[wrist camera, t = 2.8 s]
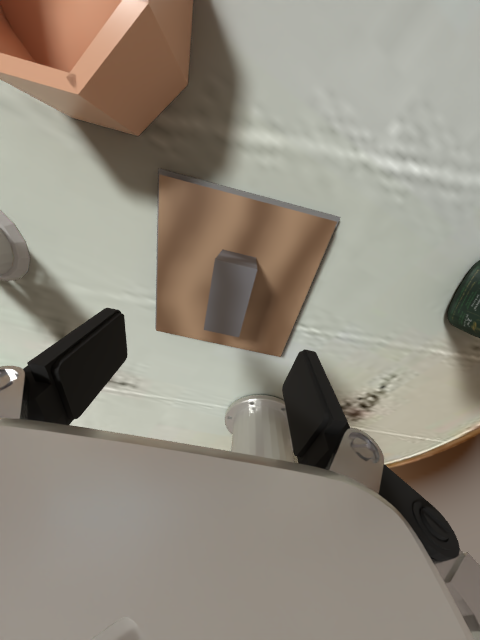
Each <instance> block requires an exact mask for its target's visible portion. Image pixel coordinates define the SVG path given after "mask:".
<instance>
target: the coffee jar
mask: <svg viewBox="0 0 480 640" xmlns="http://www.w3.org/2000/svg"><path fill="white" fill-rule="evenodd" d="M448 319H449V321H450V323H451V324H452V325H453V326H455V327H457V328H459V329H461V330H463V331H465V332H467V333H469V334H471V335H474V336H476V337H478V338H480V260H479V261H478V262H477V263H476V264H475V265H474V266H473V267H472V268H471V270H470V271H469V273H468V274H467V275H466V277H465V278H464V280H463V282H462V283H461V285H460V286H459V288H458V290H457V292H456V294H455V296H454V298H453V300H452V302H451V305H450V307H449V310H448Z"/></svg>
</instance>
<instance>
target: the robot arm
mask: <svg viewBox="0 0 480 640" xmlns="http://www.w3.org/2000/svg"><path fill="white" fill-rule="evenodd" d="M126 358H127V344H126V332H125V321H124V315H123V314H121V312H120V311H119V310H115V309H111V308H105V309H104V310H102V311H101V312H99V313H98V314H96V315H95V316H94V317H92V318H91V319H89V320H88V321H86V322H85V323H84V324H82V325H81V326H79V327H78V328H76V329H75V330H74V331H72V332H71V333H69V334H68V335H66V336H65V337H64V338H62V339H61V340H59V341H58V342H56V343H55V344H54V345H52V346H51V347H49V348H48V349H46V350H45V351H44V352H42V353H41V354H39V355H38V356H36V357H35V358H33V359H32V360H31V361H29V362H28V366H27V367H25V368H24V369H22V368H20V367H16V366H2V367H0V640H480V565H479V564H478V563H477V562H476V561H475V560H474V559H473V557H472V556H471V555H470V554H469V553H468V552H466V553H463V552H462V551H461V550H460V548H459V543H458V540H457V538H456V536H455V534H454V531H453V530H452V528H451V527H450V525H449V523H448V522H447V521H446V520H445V518H444V517H443V516H442V515H441V513H440V512H439V511H437V510H436V509H435V508H434V507H433V506H432V505H431V504H430V503H429V502H428V501H426V500H425V499H424V498H423V497H422V496H421V495H419V494H418V493H417V492H416V491H415V490H414V489H412V488H411V487H410V486H409V485H408V484H407V483H405V482H404V481H403V480H402V479H401V478H399V477H398V476H397V475H396V474H395V473H394V472H393V471H391V470H390V469H389V468H388V467H387V466H386V465H384V456H383V454H382V451H381V449H380V448H379V446H378V445H377V443H376V442H375V441H374V440H373V439H372V438H371V437H370V436H369V435H368V434H366V433H364V432H363V431H361V430H358V429H355V428H350V427H349V424H348V422H347V419H346V417H345V415H344V413H343V411H342V409H341V406H340V404H339V402H338V400H337V398H336V395H335V393H334V391H333V389H332V387H331V384H330V382H329V380H328V378H327V376H326V374H325V371H324V369H323V367H322V365H321V363H320V360H319V358H318V356H317V354H316V352H314V351H309V350H303V351H302V352H299V354H298V356H297V358H296V360H295V362H294V364H293V366H292V368H291V370H290V372H289V374H288V376H287V378H286V380H285V382H284V384H283V388H282V391H283V397H284V401H283V400H281V399H279V398H276V397H274V396H269V395H251V396H246V397H243V398H240V399H238V400H237V401H235V402H233V403H232V404H231V405H230V406H229V408H228V409H227V411H226V415H225V425H226V427H227V429H228V430H229V432H230V433H232V447H231V451H225V450H219V449H213V448H207V447H201V446H195V445H189V444H183V443H177V442H171V441H165V440H158V439H152V438H146V437H140V436H134V435H128V434H121V433H115V432H109V431H102V430H96V429H90V428H84V427H77V426H70V425H69V424H70V423H71V422H72V421H73V420H74V419H77V418H79V417H80V416H81V415H82V413H83V412H84V411H85V410H86V408H87V407H88V406H89V405H90V403H91V402H92V401H93V400H94V399H95V397H96V396H97V395H98V394H99V392H100V391H101V390H102V389H103V387H104V386H105V385H106V384H107V382H108V381H109V380H110V379H111V378H112V376H113V375H114V374H115V373H116V371H117V370H118V369H119V368H120V366H121V365H122V364H123V363H124V362H125V360H126ZM293 452H294V455H295V456H297V458H298V463H299V464H298V463H295V462H294V457H293Z"/></svg>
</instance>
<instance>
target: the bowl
mask: <svg viewBox="0 0 480 640" xmlns="http://www.w3.org/2000/svg"><path fill="white" fill-rule="evenodd" d="M192 15H193V0H0V79H1V80H2V81H4V82H6V83H8V84H10V85H12V86H14V87H16V88H17V89H19V90H21V91H23V92H25V93H27V94H29V95H30V96H32V97H34V98H36V99H38V100H40V101H42V102H43V103H45V104H47V105H49V106H51V107H53V108H55V109H57V110H58V111H60V112H62V113H64V114H66V115H68V116H70V117H71V118H75V119H78V120H82V121H85V122H89V123H93V124H96V125H100V126H103V127H107V128H111V129H114V130H118V131H121V132H125V133H129V134H132V135H136V136H139V135H140V134H141V133H142V132H143V131H144V130H145V129H146V128H147V127H148V126H149V125H150V124H151V123H152V122H153V120H154V119H155V118H156V117H157V116H158V115H159V114H160V113H161V112H162V111H163V110H164V109H165V108H166V107H167V106H168V105H169V104H170V103H171V102H172V101H173V100H174V99H175V98H176V97H177V96H178V94H179V93H180V92H181V91H182V90H183V89H184V88H185V87H186V86H187V85H188V76H189V61H190V45H191V30H192Z"/></svg>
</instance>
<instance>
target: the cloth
mask: <svg viewBox="0 0 480 640" xmlns="http://www.w3.org/2000/svg"><path fill="white" fill-rule="evenodd" d="M336 224H337V222H336V221H332V220H329V219H325V218H321V217H317V216H314V215H310V214H306V213H302V212H299V211H295V210H291V209H287V208H284V207H280V206H276V205H272V204H269V203H265V202H261V201H257V200H254V199H250V198H246V197H242V196H239V195H235V194H231V193H227V192H224V191H220V190H216V189H212V188H209V187H205V186H201V185H197V184H194V183H190V182H186V181H182V180H179V179H175V178H171V177H167V176H164V175H160V174H159V217H158V266H157V315H156V331H161V332H166V333H170V334H175V335H180V336H184V337H189V338H194V339H199V340H203V341H208V342H213V343H217V344H222V345H227V346H231V347H236V348H241V349H246V350H250V351H255V352H260V353H264V354H269V355H274V356H279V357H281V354H282V352H283V349H284V347H285V345H286V342H287V340H288V338H289V335H290V333H291V331H292V328H293V326H294V323H295V321H296V319H297V316H298V314H299V312H300V309H301V307H302V304H303V302H304V300H305V297H306V295H307V293H308V290H309V288H310V286H311V283H312V281H313V278H314V276H315V274H316V271H317V269H318V267H319V264H320V262H321V259H322V257H323V255H324V252H325V250H326V248H327V245H328V243H329V241H330V238H331V236H332V233H333V231H334V229H335V226H336Z"/></svg>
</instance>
